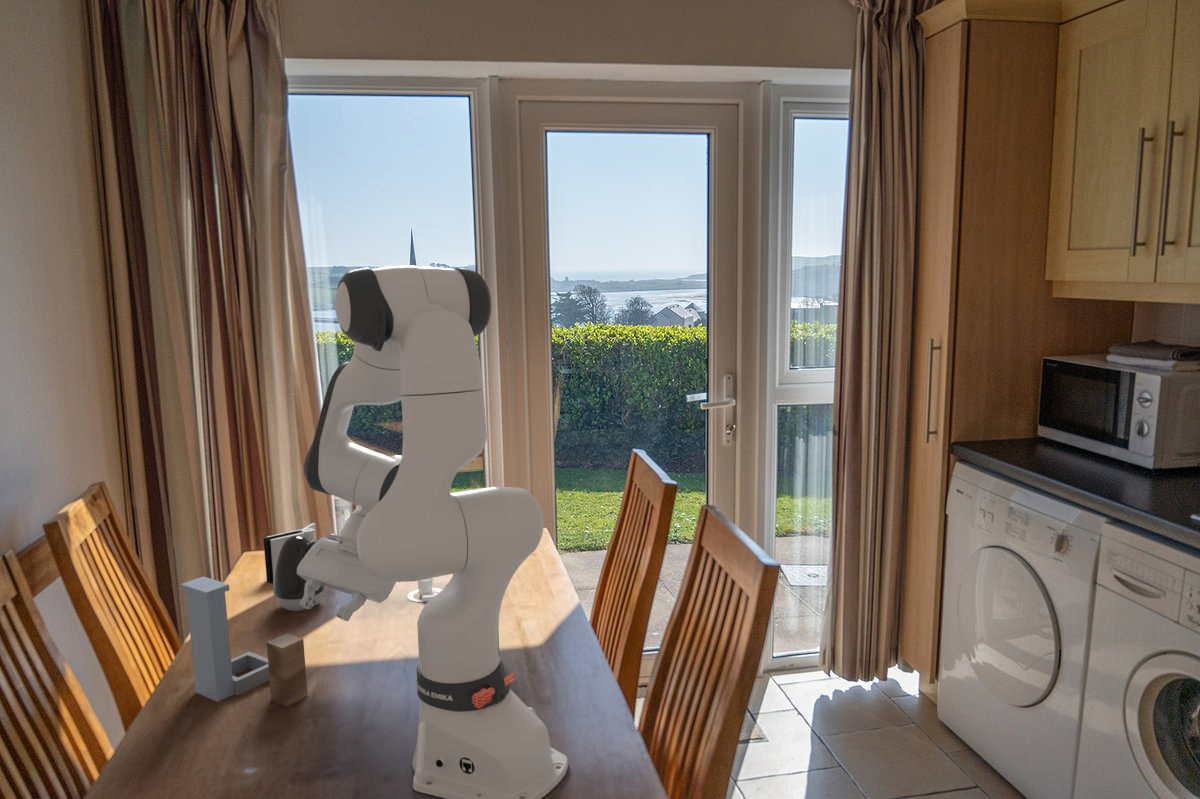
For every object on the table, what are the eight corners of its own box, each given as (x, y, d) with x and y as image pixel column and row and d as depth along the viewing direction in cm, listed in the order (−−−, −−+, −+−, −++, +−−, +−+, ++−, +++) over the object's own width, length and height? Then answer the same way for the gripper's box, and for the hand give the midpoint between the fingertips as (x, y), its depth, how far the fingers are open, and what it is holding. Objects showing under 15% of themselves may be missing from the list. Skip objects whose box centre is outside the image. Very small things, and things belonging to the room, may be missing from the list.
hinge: (316, 563, 205) (313, 522, 203) (330, 568, 202) (328, 526, 200) (263, 581, 194) (260, 537, 192) (277, 586, 191) (274, 542, 189)
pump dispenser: (310, 618, 173) (305, 545, 171) (264, 614, 175) (258, 542, 173) (336, 598, 183) (332, 529, 180) (292, 595, 185) (287, 526, 183)
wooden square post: (307, 696, 142) (303, 638, 140) (287, 706, 139) (282, 648, 137) (291, 689, 144) (287, 633, 143) (271, 700, 141) (266, 642, 139)
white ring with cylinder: (440, 605, 179) (439, 587, 179) (402, 605, 180) (401, 587, 179) (448, 589, 188) (447, 571, 187) (412, 589, 188) (411, 572, 188)
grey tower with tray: (279, 675, 149) (270, 570, 146) (218, 704, 140) (208, 593, 137) (250, 664, 153) (241, 562, 150) (189, 692, 144) (178, 583, 141)
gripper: (314, 523, 156) (271, 592, 149) (394, 542, 145) (352, 618, 138) (335, 540, 160) (295, 608, 154) (415, 559, 149) (375, 634, 143)
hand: (322, 613), depth 146 cm, fingers open, 8 cm apart
